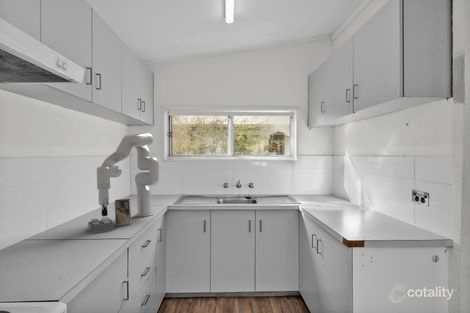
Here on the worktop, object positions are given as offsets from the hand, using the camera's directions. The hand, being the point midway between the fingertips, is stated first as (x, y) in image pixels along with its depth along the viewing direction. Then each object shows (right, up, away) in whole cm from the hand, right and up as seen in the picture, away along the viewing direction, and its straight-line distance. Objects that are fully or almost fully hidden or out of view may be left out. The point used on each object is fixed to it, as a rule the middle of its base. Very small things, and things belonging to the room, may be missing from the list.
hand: (104, 215), depth 194 cm
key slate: (-5, -5, -3) cm, 8 cm away
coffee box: (+9, -7, +9) cm, 14 cm away
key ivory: (0, -5, 0) cm, 5 cm away
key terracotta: (-2, -6, -8) cm, 10 cm away
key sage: (+3, -6, -5) cm, 8 cm away
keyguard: (-1, -8, -4) cm, 9 cm away
